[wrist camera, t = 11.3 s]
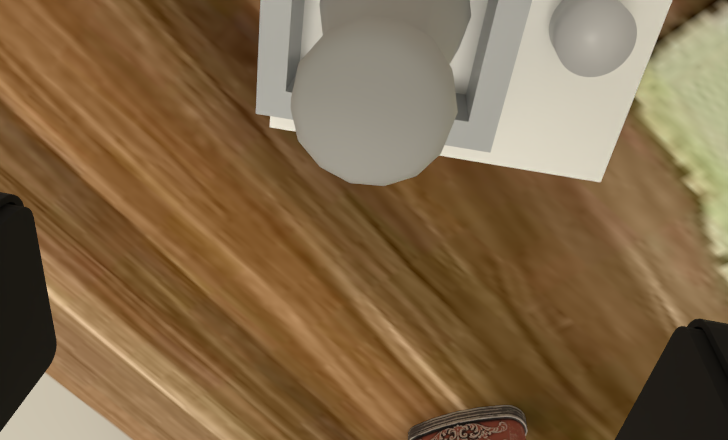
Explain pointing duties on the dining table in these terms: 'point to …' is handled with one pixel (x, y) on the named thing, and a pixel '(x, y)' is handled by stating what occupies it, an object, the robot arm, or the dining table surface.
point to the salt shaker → (379, 87)
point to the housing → (507, 77)
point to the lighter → (474, 425)
